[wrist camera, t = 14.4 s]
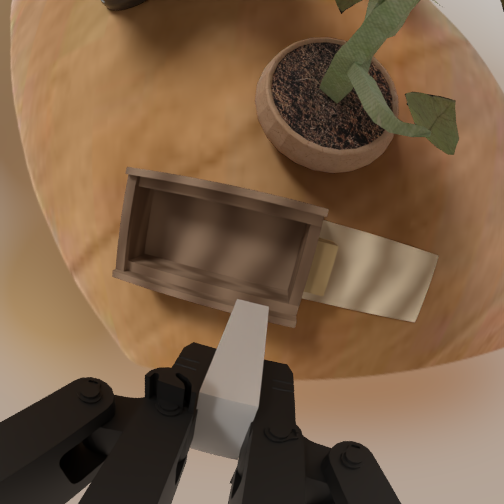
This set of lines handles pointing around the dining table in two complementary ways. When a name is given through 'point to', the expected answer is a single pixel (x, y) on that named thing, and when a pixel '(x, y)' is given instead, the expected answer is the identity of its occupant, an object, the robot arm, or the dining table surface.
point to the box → (216, 243)
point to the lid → (369, 273)
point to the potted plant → (346, 97)
